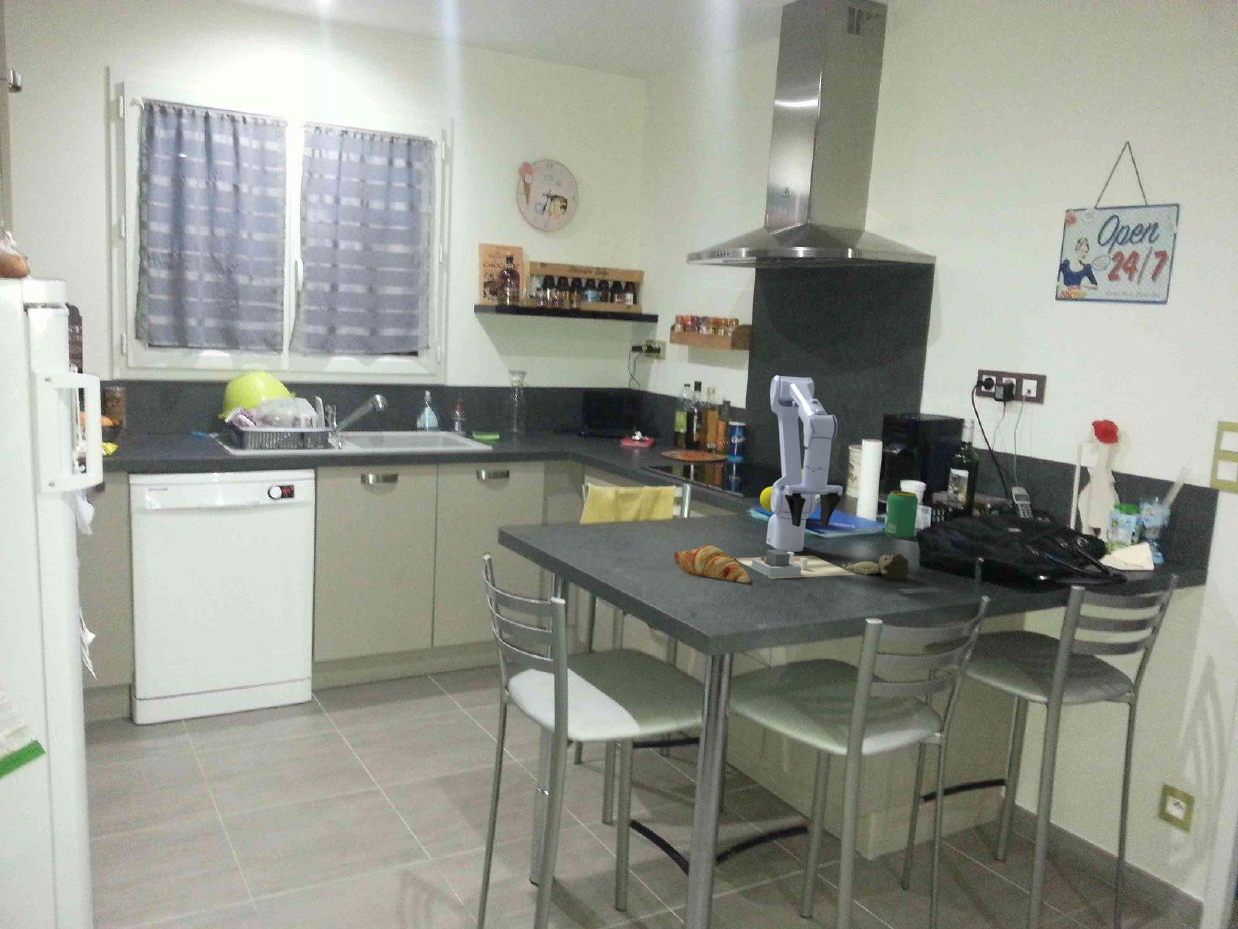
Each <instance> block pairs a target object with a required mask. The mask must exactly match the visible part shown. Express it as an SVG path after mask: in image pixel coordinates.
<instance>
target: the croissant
mask: <svg viewBox="0 0 1238 929" xmlns="http://www.w3.org/2000/svg"><path fill="white" fill-rule="evenodd" d="M673 558H674V560H675V562H676V563H677V564H678V565H679V568H680V570H682V571H683V572H686V573H687V574H689V575H690V576H692V575H694V576H693V577H695V576H696V577H697V578H699V579H701V577H700V576H702V577H707V578H713V579H720V580H723V581H730V582H735V583H741V584H749V583H750V582H751V578H750V576H749V573H748V571H747V570H746V568H744V567H742V565H741V564H740V562H739V561H737V559H735V557H731V556H728V555H727V553H726V552H725V551H724V550H722V549H720V548H717V546H713V545H709V544H706V545H702V546H701V547H699V548H694V549H692V550H691V551H688V550H683V551H681V552H680V551H679V552H678V551H677V552H674V555H673Z"/></svg>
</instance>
